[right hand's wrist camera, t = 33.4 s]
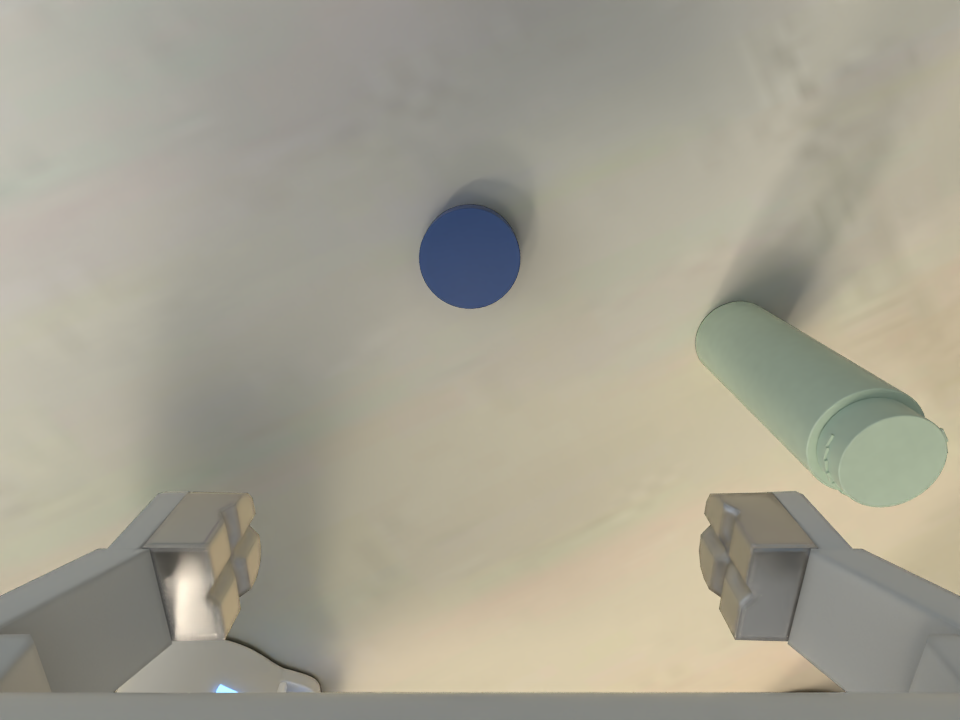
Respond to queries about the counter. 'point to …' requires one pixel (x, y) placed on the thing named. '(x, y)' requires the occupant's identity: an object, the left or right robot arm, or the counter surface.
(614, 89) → the counter surface
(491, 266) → the lid
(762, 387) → the jar
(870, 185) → the counter surface
